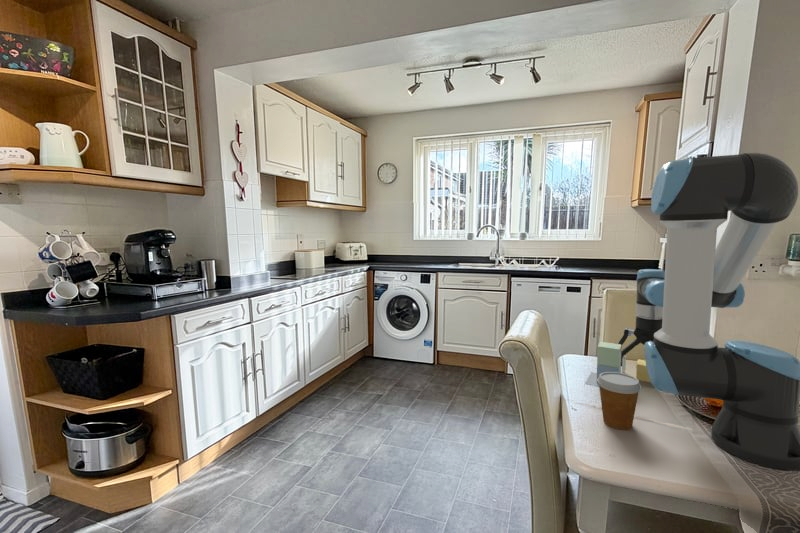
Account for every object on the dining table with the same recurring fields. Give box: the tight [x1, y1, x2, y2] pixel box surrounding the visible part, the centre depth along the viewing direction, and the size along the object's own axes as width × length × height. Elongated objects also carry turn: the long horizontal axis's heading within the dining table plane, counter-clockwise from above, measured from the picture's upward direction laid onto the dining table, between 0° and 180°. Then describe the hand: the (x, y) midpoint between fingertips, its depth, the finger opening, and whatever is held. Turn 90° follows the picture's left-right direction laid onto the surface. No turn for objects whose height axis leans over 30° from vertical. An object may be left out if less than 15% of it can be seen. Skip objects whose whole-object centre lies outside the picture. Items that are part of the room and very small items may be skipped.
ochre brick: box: [635, 358, 651, 383], centre depth 115 cm, size 6×6×6 cm
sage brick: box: [596, 341, 623, 368], centre depth 113 cm, size 6×6×6 cm
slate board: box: [584, 371, 599, 388], centre depth 114 cm, size 12×12×1 cm
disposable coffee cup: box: [597, 372, 642, 431], centre depth 90 cm, size 10×10×12 cm
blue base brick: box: [596, 364, 622, 383], centre depth 113 cm, size 6×6×6 cm
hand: (647, 380), depth 116 cm, fingers open, 13 cm apart
